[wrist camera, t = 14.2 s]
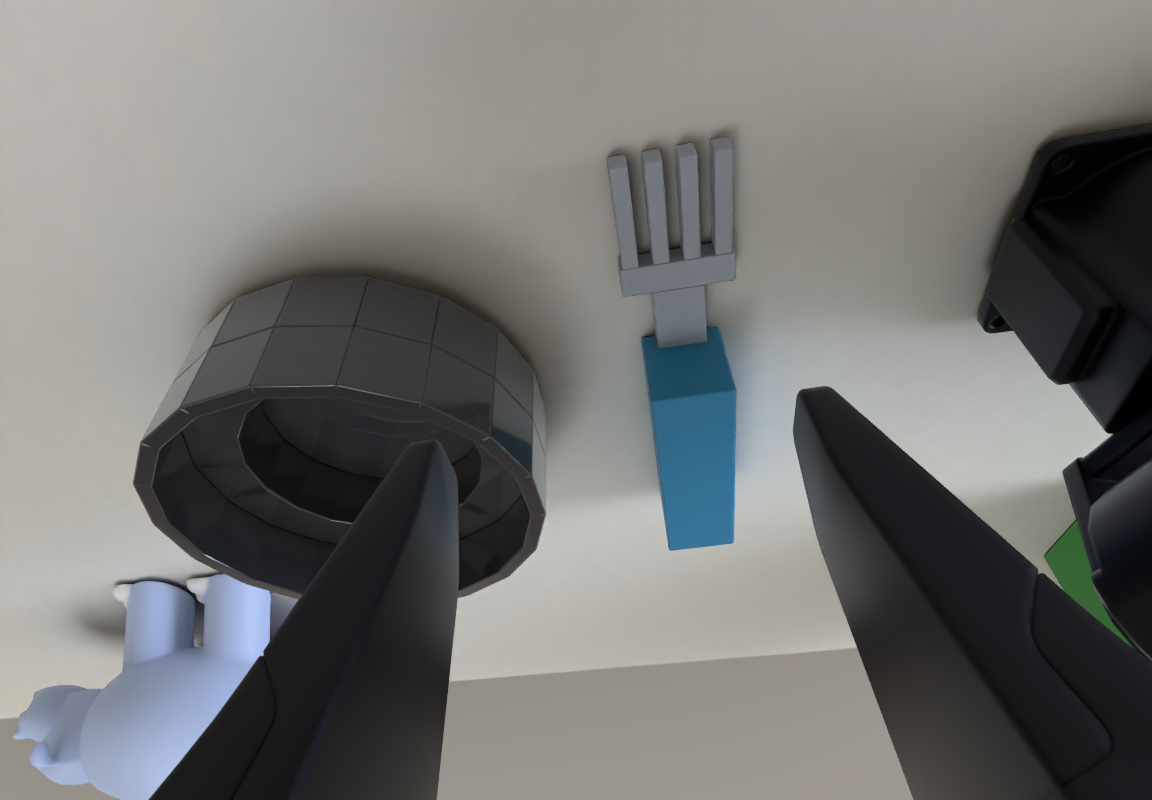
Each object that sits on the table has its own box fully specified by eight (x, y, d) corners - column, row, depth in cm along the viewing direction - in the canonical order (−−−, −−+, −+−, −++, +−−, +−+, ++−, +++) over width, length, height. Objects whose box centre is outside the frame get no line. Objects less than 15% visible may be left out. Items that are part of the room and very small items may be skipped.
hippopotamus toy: (7, 592, 33) (-124, 811, 27) (293, 562, 32) (230, 785, 25) (140, 672, 41) (63, 857, 34) (373, 651, 40) (340, 838, 33)
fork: (730, 481, 28) (744, 543, 26) (651, 491, 29) (659, 552, 27) (732, 134, 17) (758, 194, 15) (602, 157, 17) (610, 218, 15)
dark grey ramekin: (497, 233, 19) (486, 351, 16) (569, 479, 28) (573, 589, 24) (115, 297, 20) (27, 419, 17) (300, 514, 29) (267, 623, 26)
